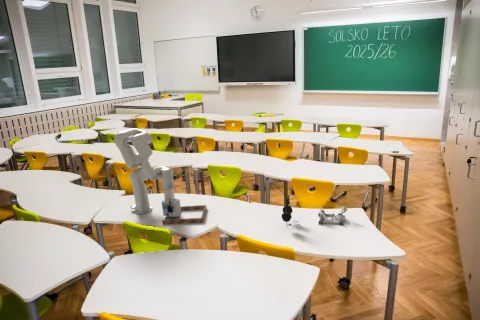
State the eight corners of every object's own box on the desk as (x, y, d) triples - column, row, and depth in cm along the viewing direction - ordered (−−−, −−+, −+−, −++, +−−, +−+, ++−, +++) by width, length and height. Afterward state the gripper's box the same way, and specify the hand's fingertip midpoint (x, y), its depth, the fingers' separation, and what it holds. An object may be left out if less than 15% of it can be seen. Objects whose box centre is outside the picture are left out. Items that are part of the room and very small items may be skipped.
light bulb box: (163, 215, 232) (161, 201, 229) (168, 211, 238) (166, 197, 235) (176, 217, 228) (175, 202, 225) (181, 213, 235) (179, 198, 231)
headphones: (300, 232, 203) (299, 201, 197) (281, 231, 206) (280, 201, 200) (300, 220, 217) (300, 191, 212) (283, 219, 220) (282, 191, 214)
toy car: (347, 203, 216) (348, 211, 205) (346, 217, 218) (348, 226, 208) (318, 202, 219) (318, 210, 209) (318, 216, 222) (318, 224, 211)
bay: (162, 224, 224) (161, 220, 223) (168, 210, 244) (168, 207, 243) (203, 222, 223) (202, 218, 222) (206, 208, 243) (206, 205, 243)
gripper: (165, 181, 235) (168, 204, 241) (160, 190, 219) (163, 215, 224) (176, 180, 235) (179, 203, 240) (171, 190, 219) (174, 214, 224)
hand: (171, 209), depth 232 cm, fingers closed on light bulb box, 8 cm apart
